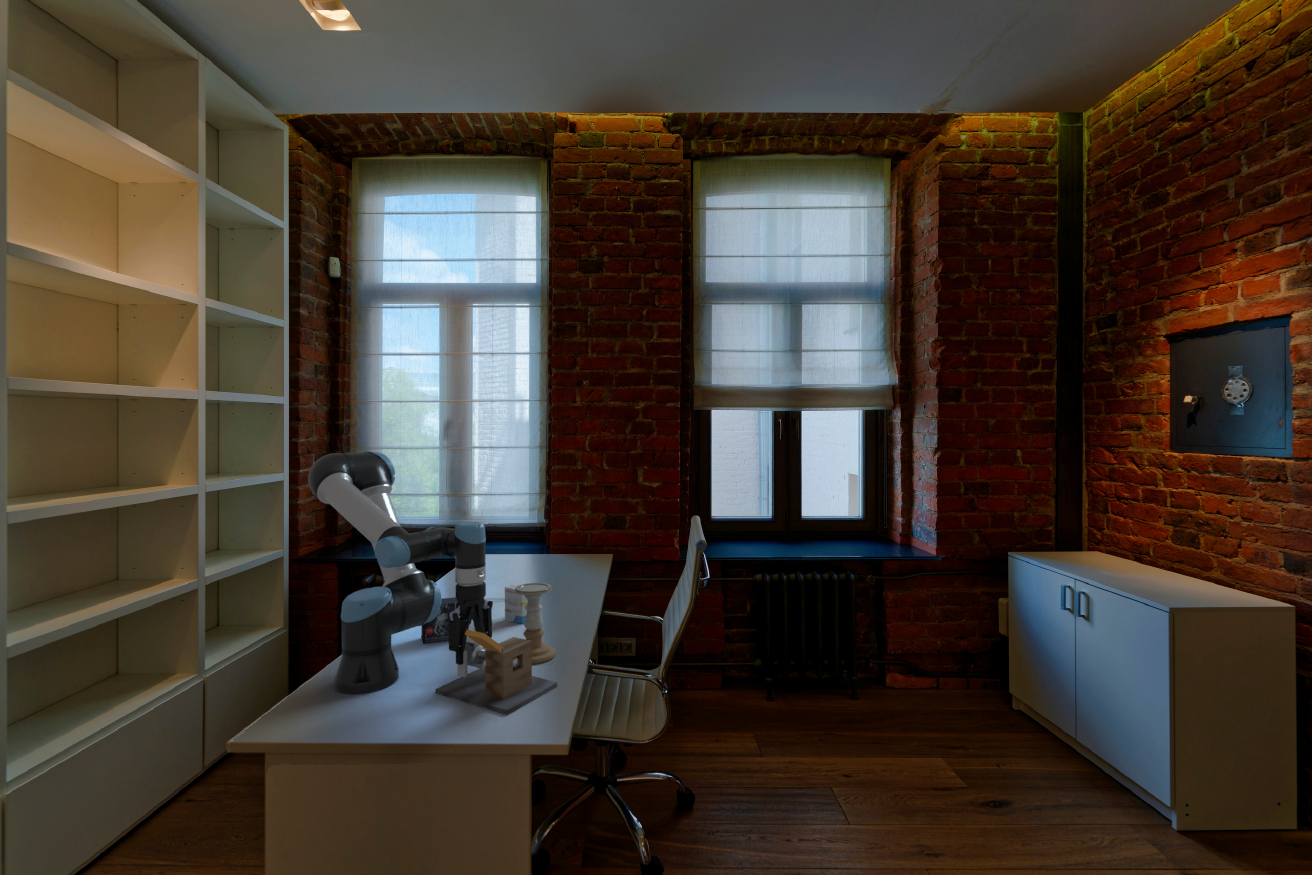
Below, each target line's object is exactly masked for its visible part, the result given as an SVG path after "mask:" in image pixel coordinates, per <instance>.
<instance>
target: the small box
mask: <svg viewBox="0 0 1312 875" xmlns="http://www.w3.org/2000/svg"><path fill="white" fill-rule="evenodd" d="M457 604H458V601H457V599H456V596H455V597H454V596H453V597H444V598H442V601H441V607H440V611H439V613H438V615H437V616H436V617H435V618H434V619H433V620H432V621H430V622H428V623H425V624H423V625H422V626H421V636H420V638H421V643H422V645H428V644H429V645H430V644H435V643H436V644H437V643H445V642H449V619H448V616H447V614H448V612H453V611H454V610H456V607H457ZM464 620H465V619H464Z"/></svg>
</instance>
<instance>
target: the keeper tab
mask: <svg viewBox="0 0 1312 875" xmlns="http://www.w3.org/2000/svg"><path fill="white" fill-rule="evenodd" d="M465 635H466V636H467V637H469V638H471V639H472V640H473V641H475V642H476V643H478V644H479V645H481V646H482V647H483V648H486V649H490V650H495V651H499V652H504V648H503V647H502V646H501V645H500V644H498V643H499V642H497V641H496V640H494V639H493V638H492V637H491V638H490V637H489V636H487V635H486V634H485V633H481V632H476V631H475V630H472V629H468V630H467V631H466V633H465Z"/></svg>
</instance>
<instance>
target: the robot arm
mask: <svg viewBox="0 0 1312 875" xmlns="http://www.w3.org/2000/svg"><path fill="white" fill-rule="evenodd" d="M395 475H396V470H395V467H394V464H393V462H392V460H391V459H390V457H388V456H387V455H386V454H384V453H383V452H379V451H378V452H376V451H362V452H343V453H342V452H334V453H328V454H325V455H323V456H321V457H320V458H318V459H317V460H316V461H315V462H313V464H312V466H311V467H310V469H309V472H308V478H307V480H308V482H307V483H308V486H309V489H310V491H311V492H312V494H313V495H314V497H316V498H317V499H318V500H319V501H320V502H321V503H323V504H326V505H330V506H331V507H333V509H335V510H336V511H337V512H338V513H339V514H340V515H341V516H342V517H343V518H345V520H346V521H347V522H349V524H351V526H353V527H354V528H355V529H356V530H357V531H359V533H360V534H362V535H363V536H364V537H365V538H366V539H367V540H368V541H369V542H370V544H371V546H372V548H373V552H374V557H375V558H376V559H377V563H378V565H379V568H380V571H381V573H382V577H383V579H384V583H383V585H382V586H373V587H366V588H363V589H360V590H356V591H354V592H352V593H351V594H348V595H347V596H346V597H344V600H343V601H342V605H341V611H340V612H341V613H340V619H341V658H340V661H339V665H338V668H337V671H336V675H334V676H335V677H334V689H335V690H336V691H337V692H340V693H342V694H343V693H344V694H352V695H353V694H354V695H355V694H364V693H371V692H375V691H380V690H382V689H385V688H387V687H390V686H392V685H393V684H395V683H396V682H397V681H398V680H399V677H400V671H399V666H398V664H397V660H396V657H395V654H394V653H393V650H392V636H393V635H394V634H398V633H401V632H404V631H407V630H410V629H413V628H416V627H422V625H423V624H425V623H428V622H430V621H432V620H433V619H434V618H435V617H436V616H437V615H438V613H439V611H440V607H441V601H442V599H443V598H442V593H441V589H440V586H439V585H438V584H437V583H436V582H435V581H433V580H430V579H427V578H426V576H425V573H424V572H423V571H422V570H419V569H418V568H416V565H415V563H420V562H424V561H430V560H434V559H437V558H442V557H443V558H445V557H446V558H452V559H455V567H454V568H455V570H454V571H455V572H454V573H455V575H454V576H455V577H454V578H455V583H456V584H455V597H456V599H457V601H458V604H457V607H456V610H454V611H453V612H448V614H447V616H448V619H449V641H448V650H449V651H452V652H454V653H455V663H456V665H457V676H459V677H467V674H468V665H467V651H465V645H466V640H467V637H468V636H466V635H465V633H466V631H467V630H470V625H471V624H472V622H473V627H474V631H476V632H481V633H485V634H486V635H487V636H489V637H490V638H492V637H493V619H492V617H493V616H492V614H493V613H492V611H493V610H492V609H493V604H494V601H493V600H487V599H485V597H486V594H487V590H486V589H487V588H486V587H487V586H486V585H487V584H486V582H485V581H486V577H487V576H486V574H487V573H486V569H487V568H486V545H487V544H486V542H487V541H486V540H487V538H486V527H485V524H484V523H482V522H480V521H466V522H465V521H464V522H459V523H457V524H456V525H455V526H454V528H450V527H445V526H444V527H443V526H430V527H427V528H426V529H425V530H422V531H416V532H408V531H407V530H406V529H405V528H403V527H402V526H401V525H400V522H399V518H398V517H397V513H396V510H395V508H394V505H393V503H392V499H391V496H390V494H391V492H392V491H393V485H394V483H395V480H396V477H395ZM464 619H465V620H464ZM474 668H475V669H476V668H477V669H484V668H485V661H484V662H483V663H482V664H479V665H477V666H475V667H474Z"/></svg>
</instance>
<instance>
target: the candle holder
mask: <svg viewBox="0 0 1312 875" xmlns="http://www.w3.org/2000/svg"><path fill="white" fill-rule="evenodd" d="M526 583H527V584H522V585H519V586H517V587H516V588H515V592H516V593H518V594H521V595H524V596H525V597H526V598H527V601H528V603H527V605H526V606H525V609H526V610H527V614H526V619H525V622H524V624H523V626H524V628H525V630H524V632H523V636H524V637H525V640H530V641H532V665H534V664H535V665H536V664H542V663H546V662H548V661H551V660H552V659H554V657H555V656H556V650H555V648H554V647H553V646H550V645H549V644H547V643H545V642H543V639H542V637H543V635H544V634H545V630H543V629H542V628H543V626H544V620H543V617H542V614H541V613H542V612H541V609H543V605H542V603H541V601H540V600H541V597H543V595H546V594H547V593H550V592H551V591H552V585H551V584H550V583H545V582H544V583H543V582H526Z"/></svg>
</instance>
